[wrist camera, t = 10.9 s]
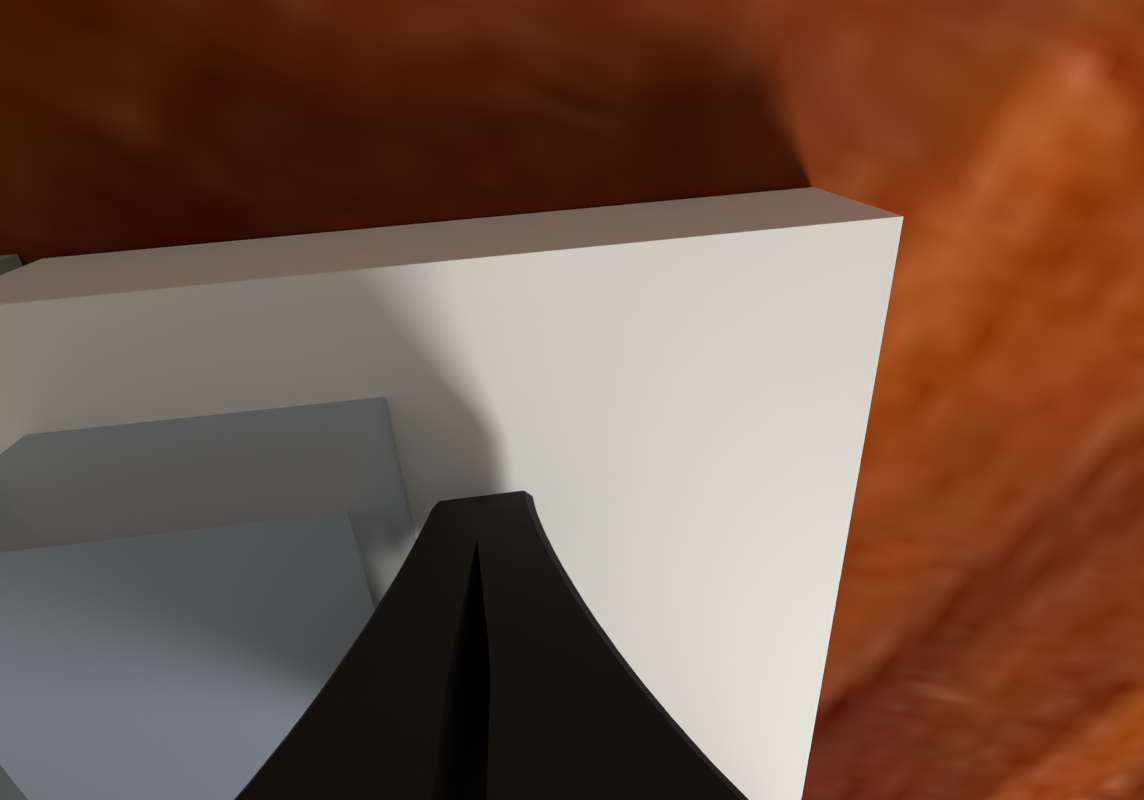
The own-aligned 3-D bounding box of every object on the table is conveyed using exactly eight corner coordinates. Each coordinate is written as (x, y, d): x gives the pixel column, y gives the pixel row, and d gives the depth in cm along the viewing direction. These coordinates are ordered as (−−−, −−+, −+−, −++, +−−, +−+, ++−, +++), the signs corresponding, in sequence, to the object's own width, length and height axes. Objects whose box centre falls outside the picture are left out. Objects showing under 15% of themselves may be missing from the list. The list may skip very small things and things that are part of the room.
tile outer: (438, 636, 10) (424, 787, 8) (156, 674, 10) (61, 843, 8) (384, 396, 8) (347, 511, 6) (26, 434, 8) (-152, 570, 6)
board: (750, 776, 18) (787, 875, 15) (316, 848, 17) (290, 965, 14) (813, 187, 10) (903, 216, 8) (41, 258, 9) (-97, 313, 7)
